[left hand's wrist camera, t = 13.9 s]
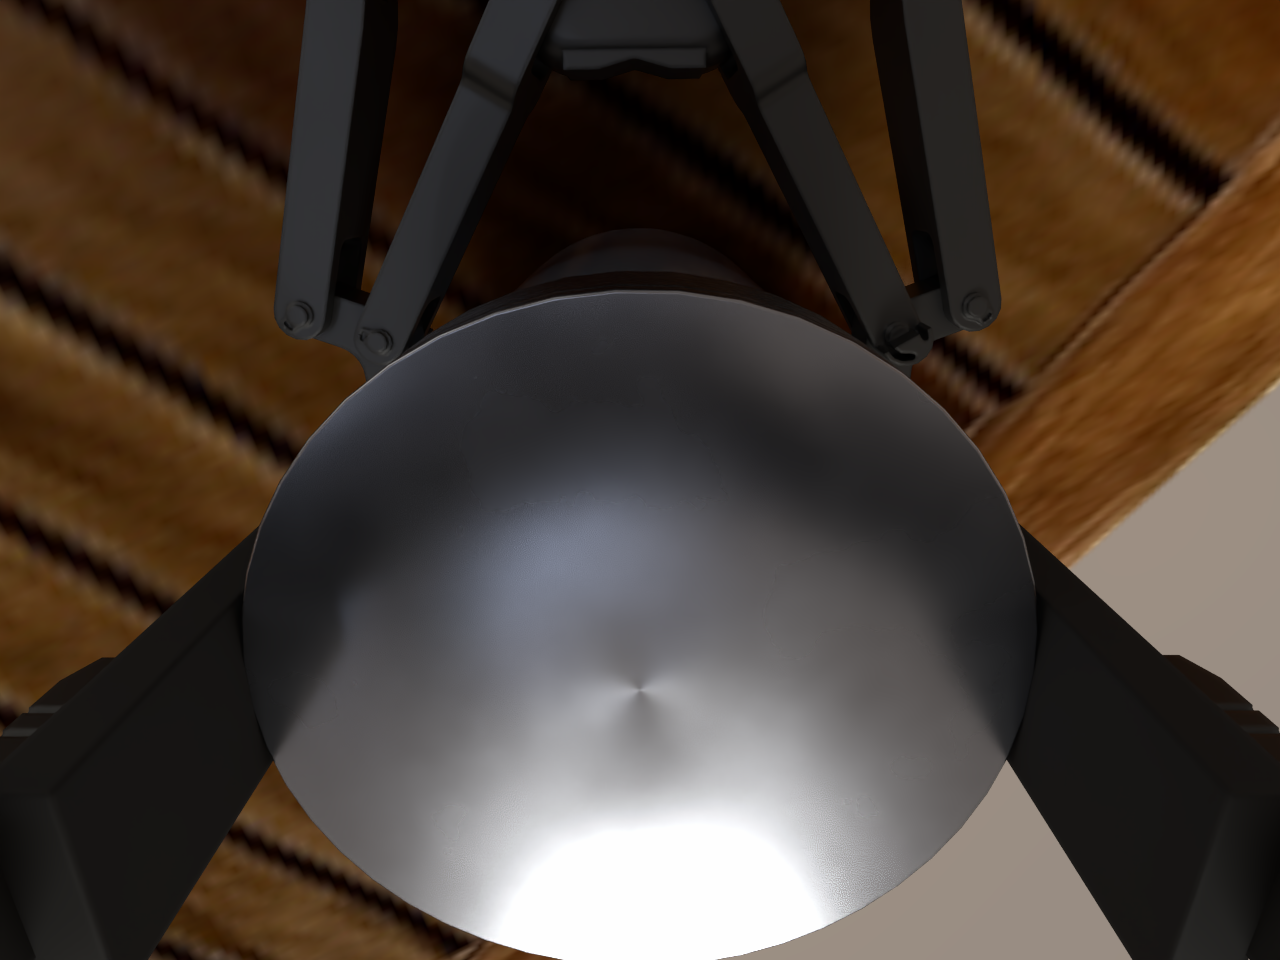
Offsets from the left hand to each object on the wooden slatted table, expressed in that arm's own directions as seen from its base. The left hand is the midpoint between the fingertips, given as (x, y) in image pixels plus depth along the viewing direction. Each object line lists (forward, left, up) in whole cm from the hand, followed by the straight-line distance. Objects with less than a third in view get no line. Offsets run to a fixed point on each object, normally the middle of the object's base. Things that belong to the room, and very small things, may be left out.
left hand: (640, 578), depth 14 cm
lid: (0, 0, +3) cm, 3 cm away
